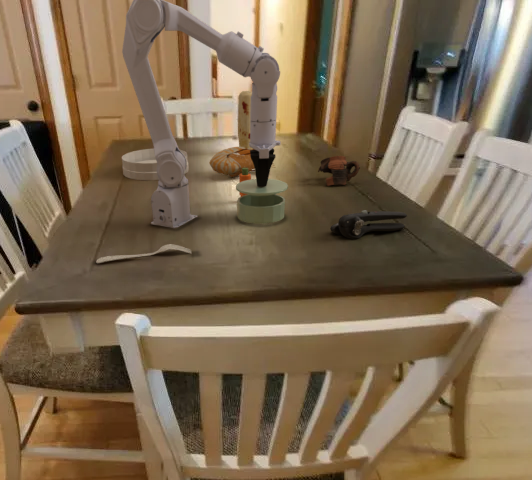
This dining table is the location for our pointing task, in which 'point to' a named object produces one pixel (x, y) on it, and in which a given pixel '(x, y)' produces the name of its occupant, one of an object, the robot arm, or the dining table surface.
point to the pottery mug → (338, 170)
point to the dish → (143, 165)
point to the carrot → (244, 178)
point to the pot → (261, 208)
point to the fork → (163, 248)
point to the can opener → (355, 226)
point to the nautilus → (232, 161)
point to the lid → (261, 187)
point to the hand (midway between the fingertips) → (261, 184)
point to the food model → (244, 119)
